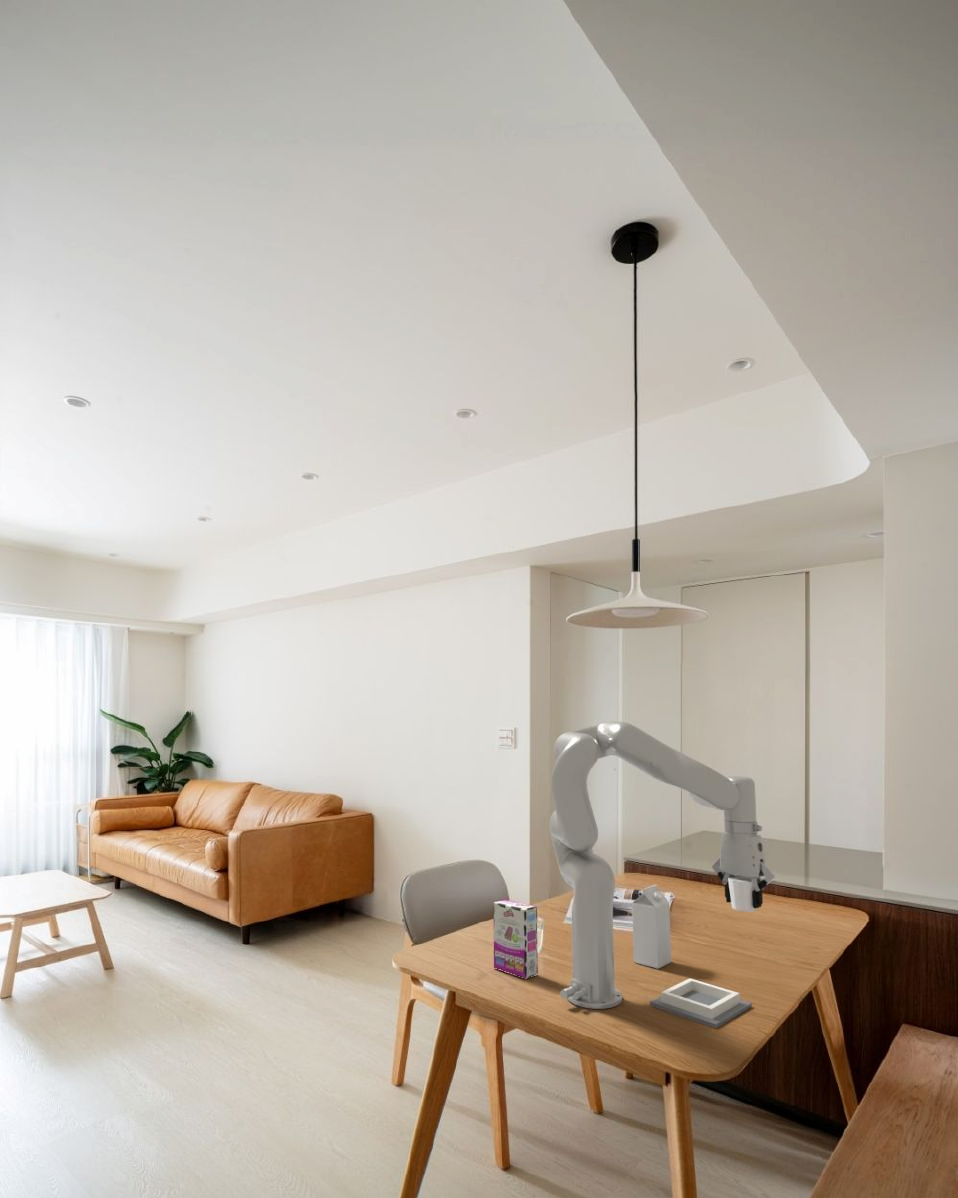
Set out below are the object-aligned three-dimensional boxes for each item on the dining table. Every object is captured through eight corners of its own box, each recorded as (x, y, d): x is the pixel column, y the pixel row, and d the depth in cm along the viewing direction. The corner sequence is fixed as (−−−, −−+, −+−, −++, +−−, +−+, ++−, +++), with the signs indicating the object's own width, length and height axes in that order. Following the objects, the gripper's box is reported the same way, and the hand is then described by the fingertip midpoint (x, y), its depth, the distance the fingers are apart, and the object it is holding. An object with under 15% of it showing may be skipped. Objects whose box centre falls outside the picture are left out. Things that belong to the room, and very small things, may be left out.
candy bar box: (539, 975, 179) (538, 906, 181) (526, 980, 175) (525, 910, 178) (505, 964, 187) (505, 898, 189) (492, 969, 183) (492, 901, 186)
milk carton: (633, 963, 187) (631, 887, 190) (647, 956, 193) (645, 882, 195) (658, 969, 183) (655, 891, 186) (671, 962, 188) (668, 886, 191)
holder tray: (715, 1028, 149) (715, 1014, 149) (649, 1005, 161) (649, 992, 161) (751, 1006, 160) (751, 993, 160) (687, 986, 171) (687, 974, 172)
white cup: (734, 903, 179) (733, 874, 180) (763, 908, 175) (761, 878, 176) (724, 908, 174) (723, 878, 175) (753, 914, 170) (752, 883, 171)
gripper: (781, 831, 173) (785, 909, 171) (716, 822, 186) (718, 895, 183) (767, 834, 168) (771, 915, 166) (701, 825, 181) (703, 900, 178)
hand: (743, 903), depth 174 cm, fingers closed on white cup, 6 cm apart
